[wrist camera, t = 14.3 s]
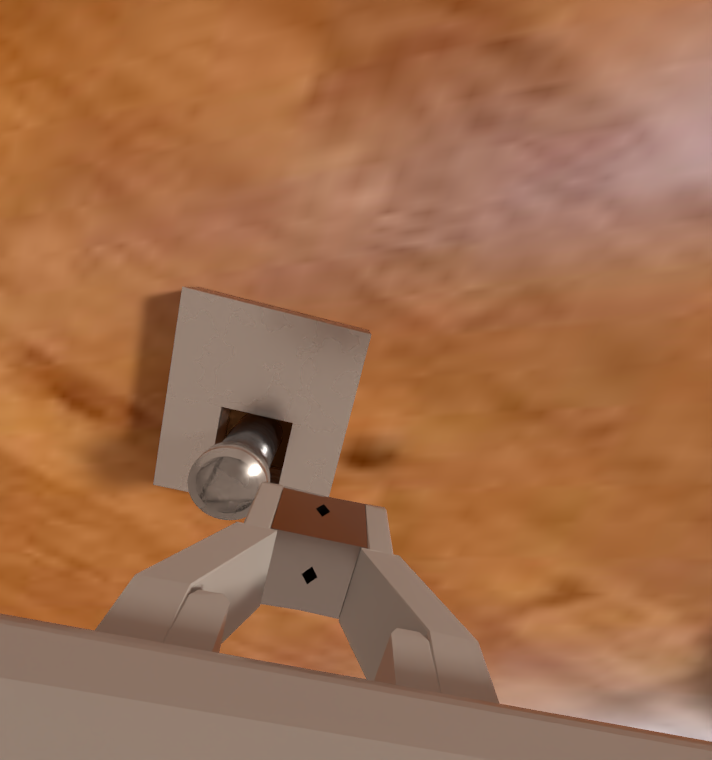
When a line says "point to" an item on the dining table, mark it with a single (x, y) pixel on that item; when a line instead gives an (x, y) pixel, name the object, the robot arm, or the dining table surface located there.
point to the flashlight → (235, 468)
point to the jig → (259, 384)
